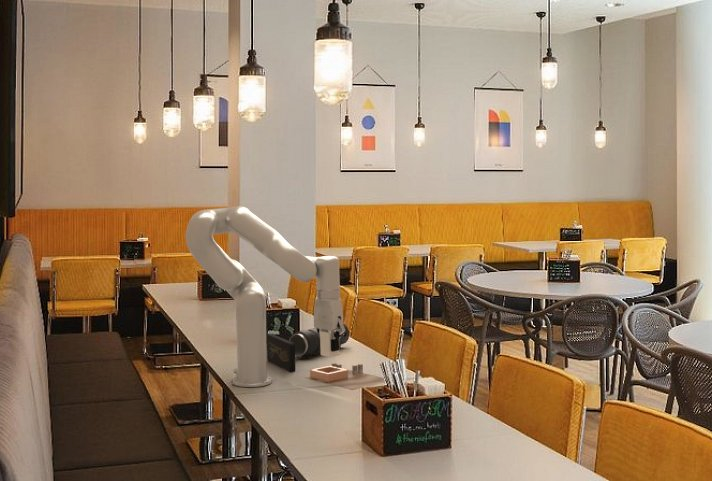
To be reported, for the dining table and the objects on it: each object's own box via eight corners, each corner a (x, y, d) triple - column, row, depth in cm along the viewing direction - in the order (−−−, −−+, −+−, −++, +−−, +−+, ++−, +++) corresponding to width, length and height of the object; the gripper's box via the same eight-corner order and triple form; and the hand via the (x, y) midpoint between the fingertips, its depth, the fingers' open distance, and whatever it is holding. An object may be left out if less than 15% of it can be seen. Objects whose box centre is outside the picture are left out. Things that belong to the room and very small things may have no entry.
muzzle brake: (350, 348, 345) (349, 321, 344) (308, 362, 321) (307, 333, 320) (329, 346, 350) (329, 319, 349) (286, 359, 326) (286, 331, 325)
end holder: (310, 377, 292) (310, 369, 292) (330, 372, 298) (330, 365, 298) (327, 381, 286) (327, 374, 286) (348, 377, 292) (348, 369, 292)
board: (304, 380, 292) (304, 368, 292) (344, 371, 304) (344, 360, 304) (352, 393, 275) (351, 380, 275) (392, 383, 288) (392, 370, 287)
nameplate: (267, 361, 323) (266, 334, 322) (271, 360, 324) (271, 333, 323) (290, 372, 304) (289, 343, 303) (295, 372, 305) (294, 343, 304)
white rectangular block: (320, 355, 292) (320, 331, 291) (330, 353, 295) (330, 329, 294) (329, 357, 288) (328, 332, 288) (339, 354, 291) (339, 330, 291)
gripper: (302, 293, 293) (304, 348, 295) (337, 298, 281) (338, 355, 283) (320, 290, 299) (321, 344, 300) (354, 295, 286) (355, 351, 288)
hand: (329, 349), depth 291 cm, fingers closed on white rectangular block, 4 cm apart
